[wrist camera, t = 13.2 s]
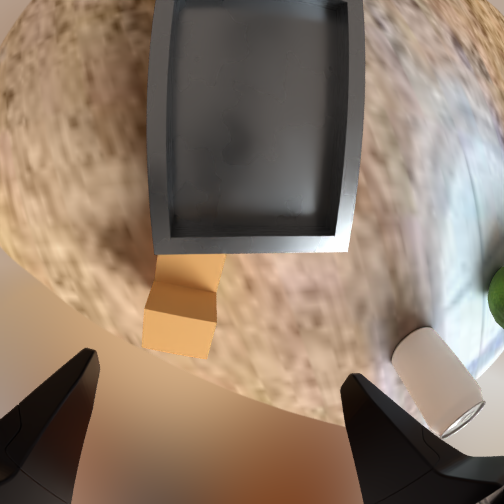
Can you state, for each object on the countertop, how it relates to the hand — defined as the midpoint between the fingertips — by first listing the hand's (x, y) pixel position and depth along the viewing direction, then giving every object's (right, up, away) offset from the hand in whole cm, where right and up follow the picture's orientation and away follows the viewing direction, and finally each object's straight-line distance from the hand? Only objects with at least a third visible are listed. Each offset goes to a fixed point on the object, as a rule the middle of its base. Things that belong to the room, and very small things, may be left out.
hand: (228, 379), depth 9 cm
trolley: (0, +13, +7) cm, 15 cm away
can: (+19, -7, +19) cm, 28 cm away
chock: (-4, +3, +11) cm, 12 cm away
